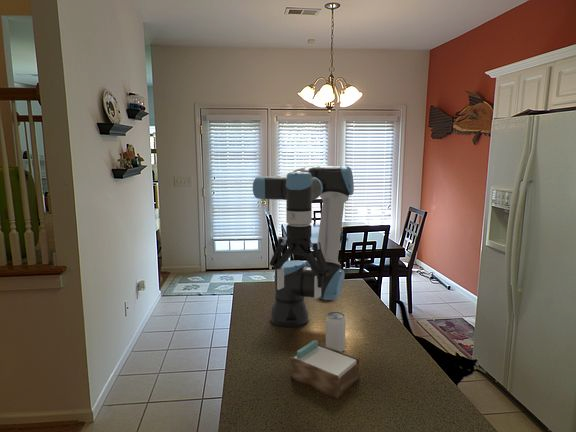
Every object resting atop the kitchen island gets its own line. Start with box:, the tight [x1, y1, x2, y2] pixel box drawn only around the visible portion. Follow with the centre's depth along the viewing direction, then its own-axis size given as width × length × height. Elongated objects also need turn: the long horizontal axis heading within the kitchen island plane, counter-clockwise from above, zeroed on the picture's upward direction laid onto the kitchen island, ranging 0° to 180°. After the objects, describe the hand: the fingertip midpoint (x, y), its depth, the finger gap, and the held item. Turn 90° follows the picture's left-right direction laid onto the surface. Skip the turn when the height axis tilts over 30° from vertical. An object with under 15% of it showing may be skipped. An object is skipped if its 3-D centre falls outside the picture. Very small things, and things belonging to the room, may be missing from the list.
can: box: [325, 311, 346, 353], centre depth 131 cm, size 6×6×12 cm
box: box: [289, 343, 360, 400], centre depth 114 cm, size 16×12×6 cm
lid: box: [293, 339, 357, 379], centre depth 113 cm, size 15×10×3 cm
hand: (298, 292), depth 119 cm, fingers open, 13 cm apart
